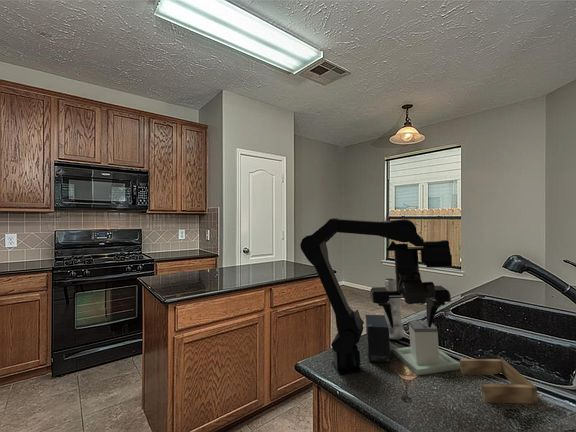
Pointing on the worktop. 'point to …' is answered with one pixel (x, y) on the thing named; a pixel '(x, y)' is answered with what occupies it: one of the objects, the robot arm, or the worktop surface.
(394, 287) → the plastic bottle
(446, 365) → the tray
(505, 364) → the bay
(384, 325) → the small box
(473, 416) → the worktop surface
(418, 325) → the grey drawer with handle
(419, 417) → the worktop surface
